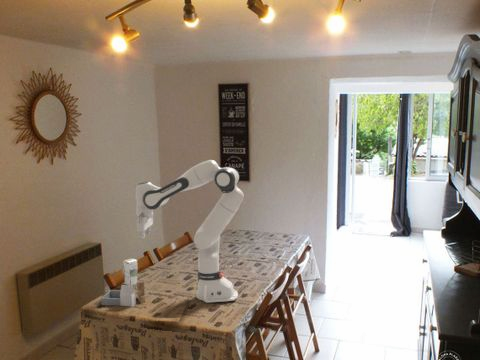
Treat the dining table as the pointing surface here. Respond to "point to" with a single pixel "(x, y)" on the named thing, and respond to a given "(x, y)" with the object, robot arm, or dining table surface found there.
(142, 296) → the scraper
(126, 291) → the white rectangular block
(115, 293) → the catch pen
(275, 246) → the dining table surface
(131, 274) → the syrup box
